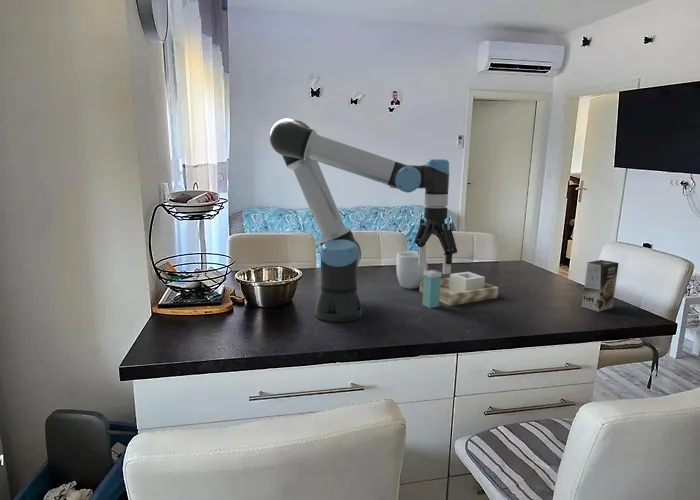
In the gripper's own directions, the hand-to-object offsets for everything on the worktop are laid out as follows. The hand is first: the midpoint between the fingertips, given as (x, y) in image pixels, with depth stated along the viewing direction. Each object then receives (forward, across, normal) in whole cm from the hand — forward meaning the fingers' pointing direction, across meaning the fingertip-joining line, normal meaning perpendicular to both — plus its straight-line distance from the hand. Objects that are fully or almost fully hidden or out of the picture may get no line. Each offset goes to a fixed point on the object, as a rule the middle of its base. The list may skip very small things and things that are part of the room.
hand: (433, 269), depth 161 cm
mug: (+13, +23, -8) cm, 28 cm away
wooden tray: (+13, +6, -16) cm, 22 cm away
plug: (+13, 0, 0) cm, 13 cm away
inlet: (+12, +6, -21) cm, 25 cm away
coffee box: (+14, -26, -52) cm, 59 cm away
